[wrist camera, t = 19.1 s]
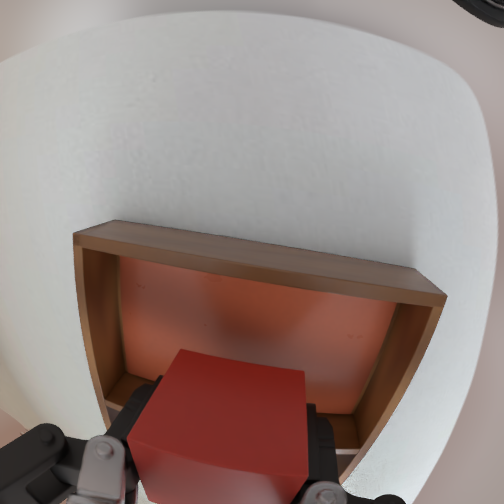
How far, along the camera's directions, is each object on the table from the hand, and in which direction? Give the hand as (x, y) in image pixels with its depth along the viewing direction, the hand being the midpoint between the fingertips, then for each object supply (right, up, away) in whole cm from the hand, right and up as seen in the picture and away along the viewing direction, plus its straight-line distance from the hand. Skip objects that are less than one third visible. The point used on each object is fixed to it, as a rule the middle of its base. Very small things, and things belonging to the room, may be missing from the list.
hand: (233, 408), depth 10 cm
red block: (0, 0, 0) cm, 0 cm away
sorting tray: (0, -3, +6) cm, 7 cm away
